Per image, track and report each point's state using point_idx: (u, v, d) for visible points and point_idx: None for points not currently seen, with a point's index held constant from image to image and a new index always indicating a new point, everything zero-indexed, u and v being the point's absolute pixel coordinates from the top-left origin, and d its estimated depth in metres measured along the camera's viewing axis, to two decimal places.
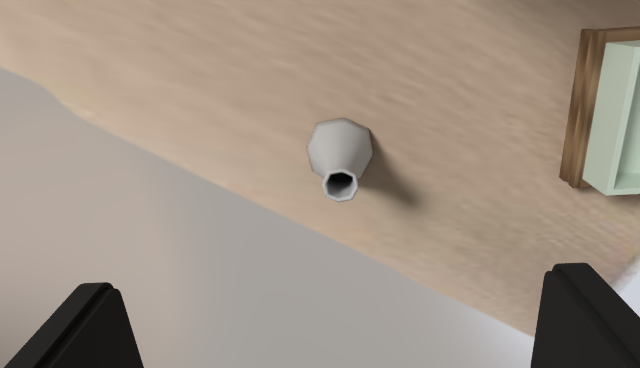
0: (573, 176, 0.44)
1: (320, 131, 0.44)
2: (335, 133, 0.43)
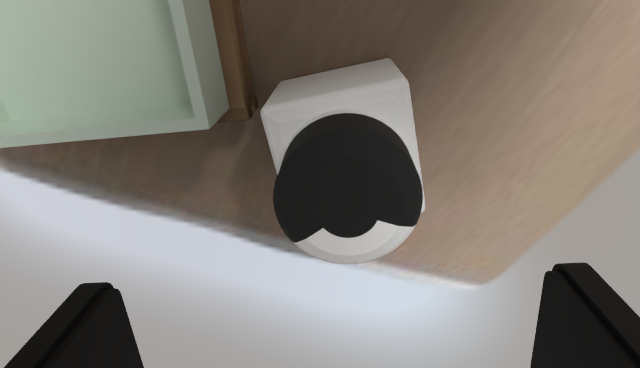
0: None
1: None
2: None
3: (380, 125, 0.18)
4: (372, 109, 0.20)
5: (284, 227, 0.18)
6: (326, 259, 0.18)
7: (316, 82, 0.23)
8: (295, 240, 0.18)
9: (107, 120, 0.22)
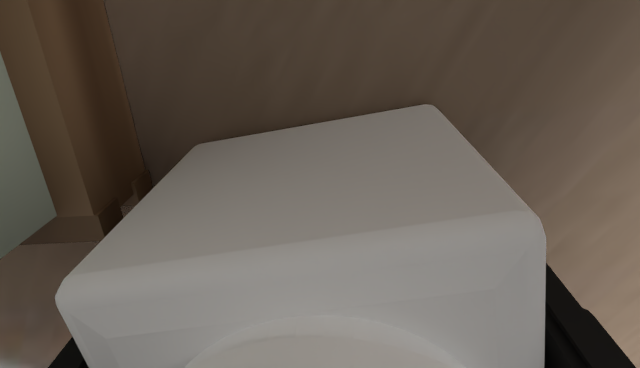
0: None
1: None
2: None
3: None
4: (419, 315, 0.06)
5: None
6: None
7: (260, 169, 0.09)
8: None
9: None
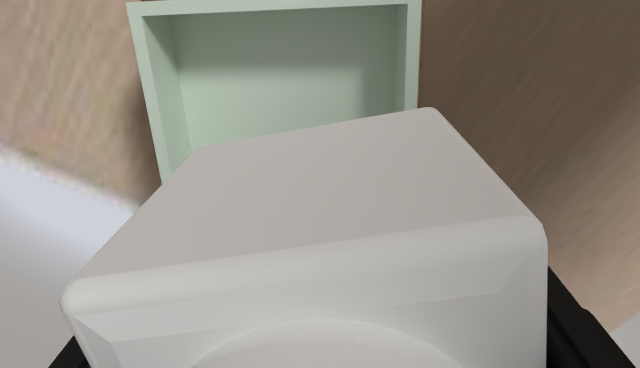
0: None
1: None
2: None
3: None
4: (421, 319, 0.06)
5: None
6: None
7: (262, 172, 0.09)
8: None
9: None
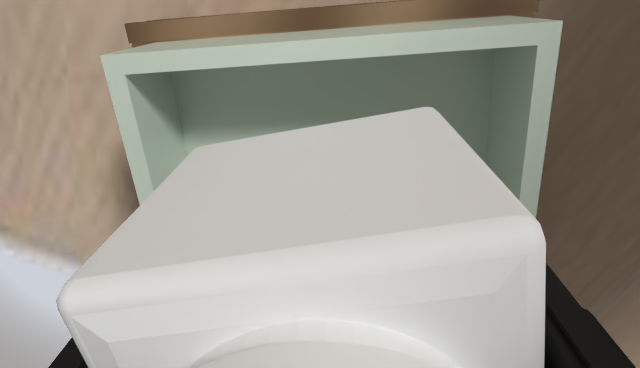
0: (157, 21, 0.16)
1: None
2: None
3: None
4: (419, 319, 0.06)
5: None
6: None
7: (260, 172, 0.09)
8: None
9: None
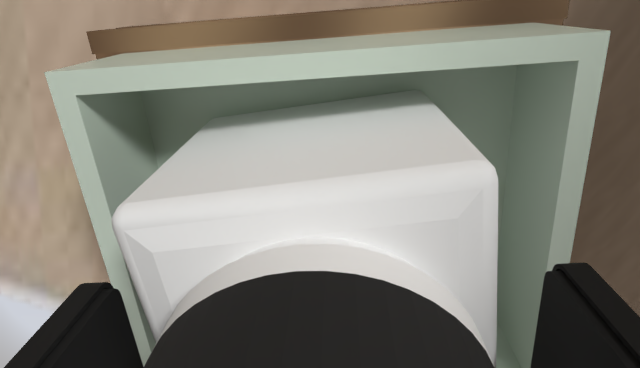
0: (125, 28, 0.14)
1: None
2: None
3: (435, 336, 0.05)
4: (399, 238, 0.08)
5: None
6: None
7: (272, 135, 0.11)
8: None
9: None
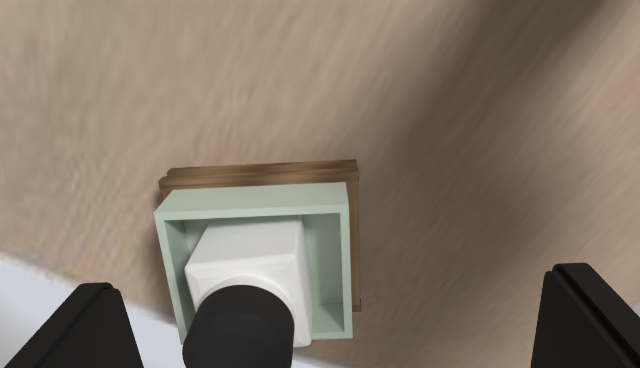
0: (174, 179, 0.33)
1: None
2: None
3: (267, 299, 0.24)
4: (269, 275, 0.26)
5: None
6: None
7: (235, 234, 0.30)
8: None
9: None
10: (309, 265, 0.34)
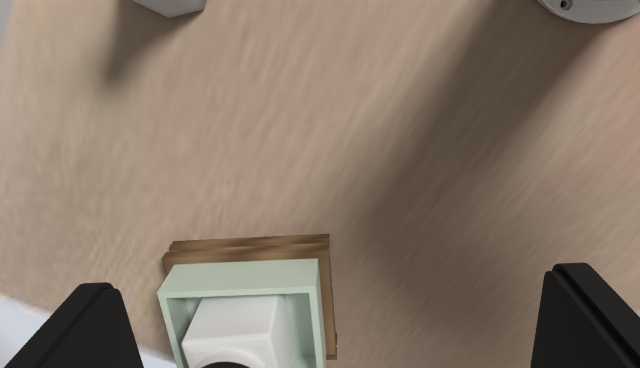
0: (175, 255, 0.39)
1: None
2: None
3: None
4: (248, 350, 0.33)
5: None
6: None
7: (224, 308, 0.36)
8: None
9: None
10: (289, 326, 0.40)
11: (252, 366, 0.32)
